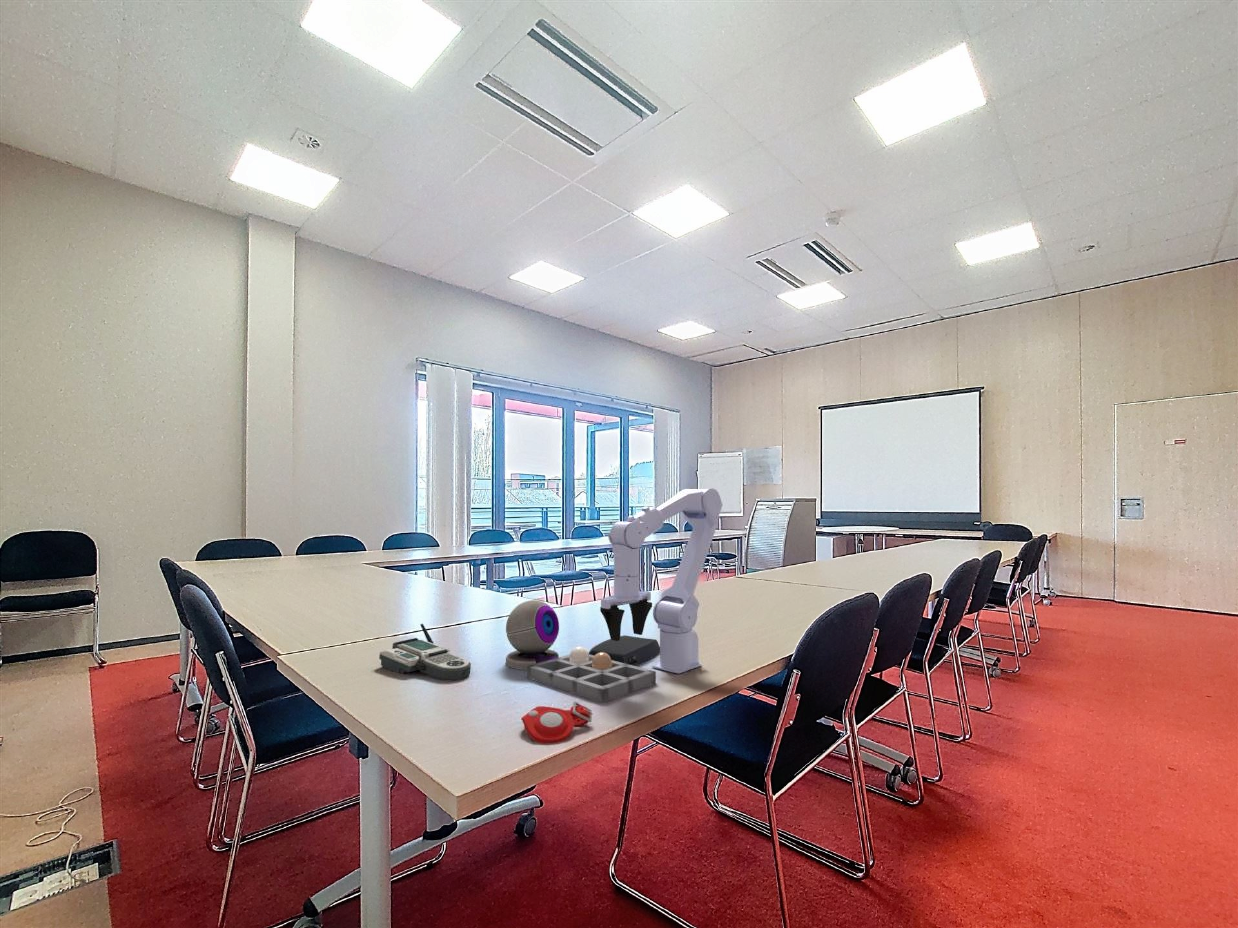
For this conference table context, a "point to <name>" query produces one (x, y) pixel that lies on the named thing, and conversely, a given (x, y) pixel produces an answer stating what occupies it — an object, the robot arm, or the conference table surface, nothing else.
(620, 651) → the external hard drive
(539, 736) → the tracker holder
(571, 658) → the cream egg
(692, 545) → the robot arm
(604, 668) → the tan bulbous object
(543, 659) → the webcam
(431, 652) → the communication device
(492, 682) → the conference table surface
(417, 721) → the conference table surface
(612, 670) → the egg crate
